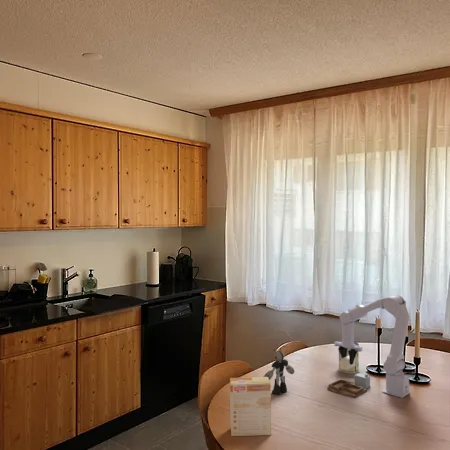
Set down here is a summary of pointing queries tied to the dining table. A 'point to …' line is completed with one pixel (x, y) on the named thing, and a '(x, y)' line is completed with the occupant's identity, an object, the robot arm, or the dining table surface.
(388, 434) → the dining table surface
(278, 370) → the robot
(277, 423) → the dining table surface
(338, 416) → the dining table surface
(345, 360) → the cream rectangular block
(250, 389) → the coffeecake box
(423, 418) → the dining table surface
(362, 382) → the blue box with knob
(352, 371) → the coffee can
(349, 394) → the jig
